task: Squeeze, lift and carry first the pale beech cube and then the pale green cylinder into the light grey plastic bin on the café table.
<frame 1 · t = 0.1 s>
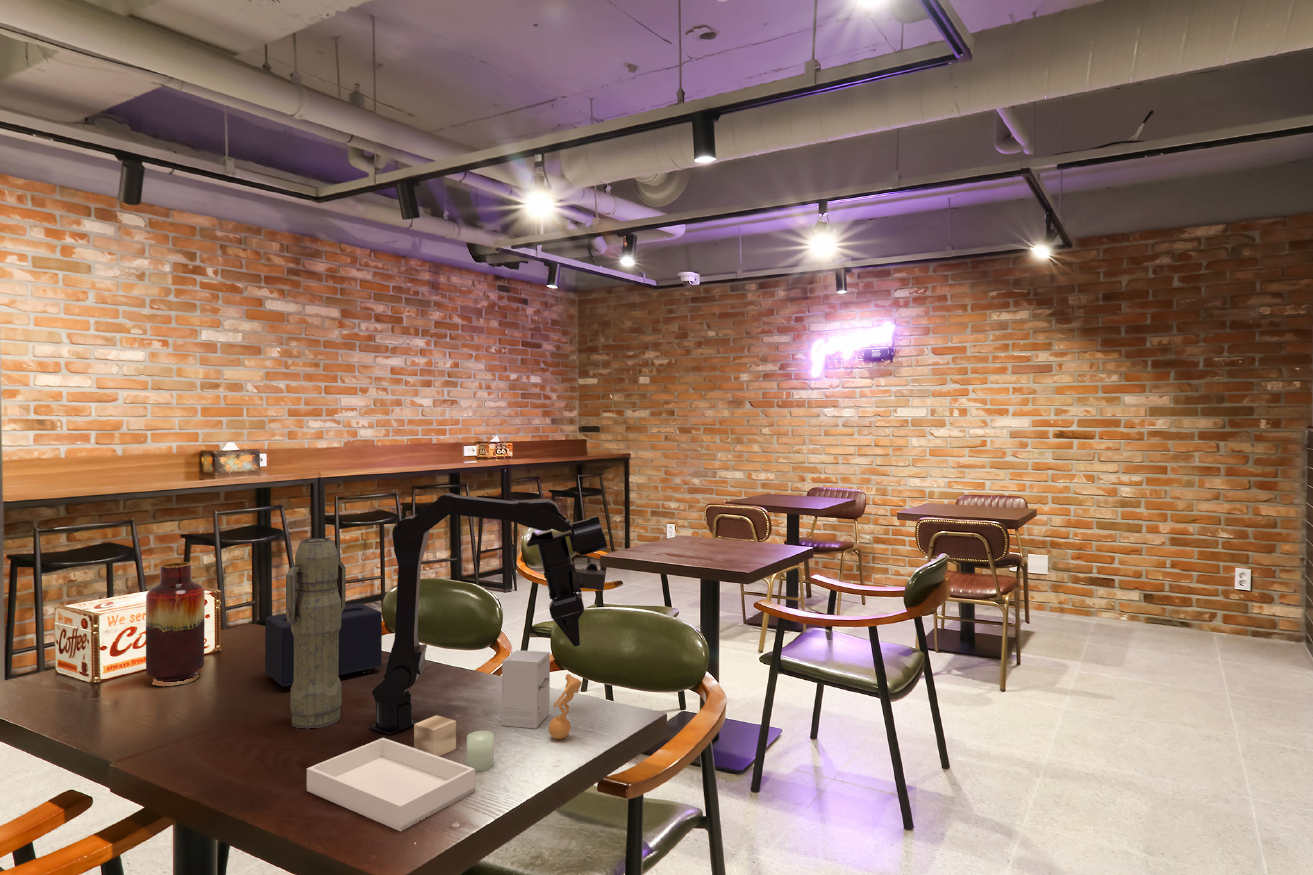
hand: (576, 639, 146), 15 cm above the table, tool pointing down, fingers open, 9 cm apart
figurine: (564, 740, 136), on the table
bin: (390, 791, 116), on the table
vase: (175, 681, 167), on the table
green cylinder: (480, 765, 125), on the table
speaker: (324, 677, 171), on the table
supplement box: (526, 721, 144), on the table
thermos: (316, 721, 144), on the table
beech cube: (435, 750, 131), on the table
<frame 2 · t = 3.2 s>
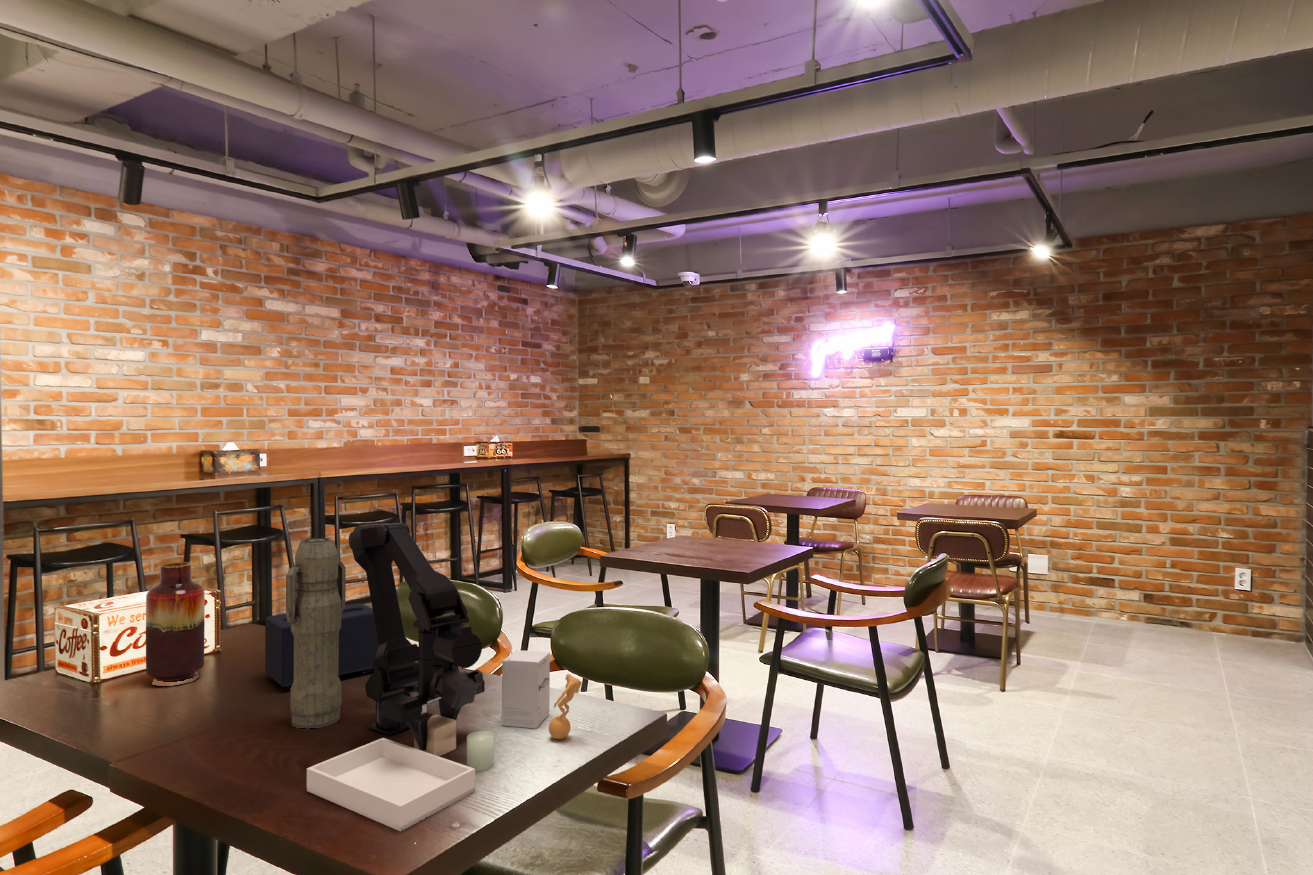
hand: (435, 744, 131), 1 cm above the table, tool pointing down, fingers closed on beech cube, 5 cm apart
beech cube: (435, 750, 131), on the table, touching gripper
everything else where it was.
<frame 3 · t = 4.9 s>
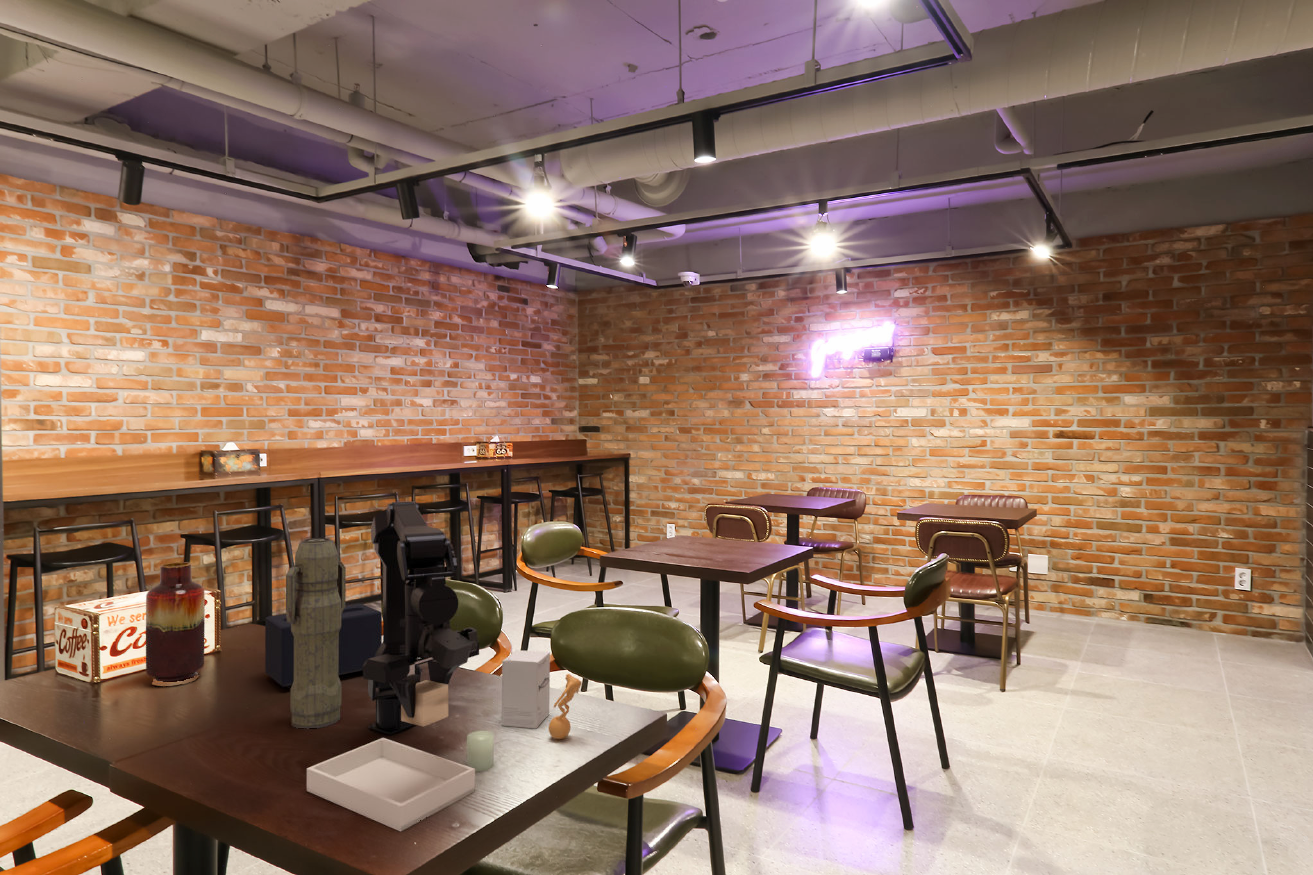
hand: (424, 712, 117), 12 cm above the table, tool pointing down, fingers closed on beech cube, 5 cm apart
beech cube: (424, 718, 117), point 11 cm above the table, touching gripper
everything else where it was.
when the fingers open (3 cm above the table, at t = 7.1 s): beech cube drops 1 cm, resting on bin.
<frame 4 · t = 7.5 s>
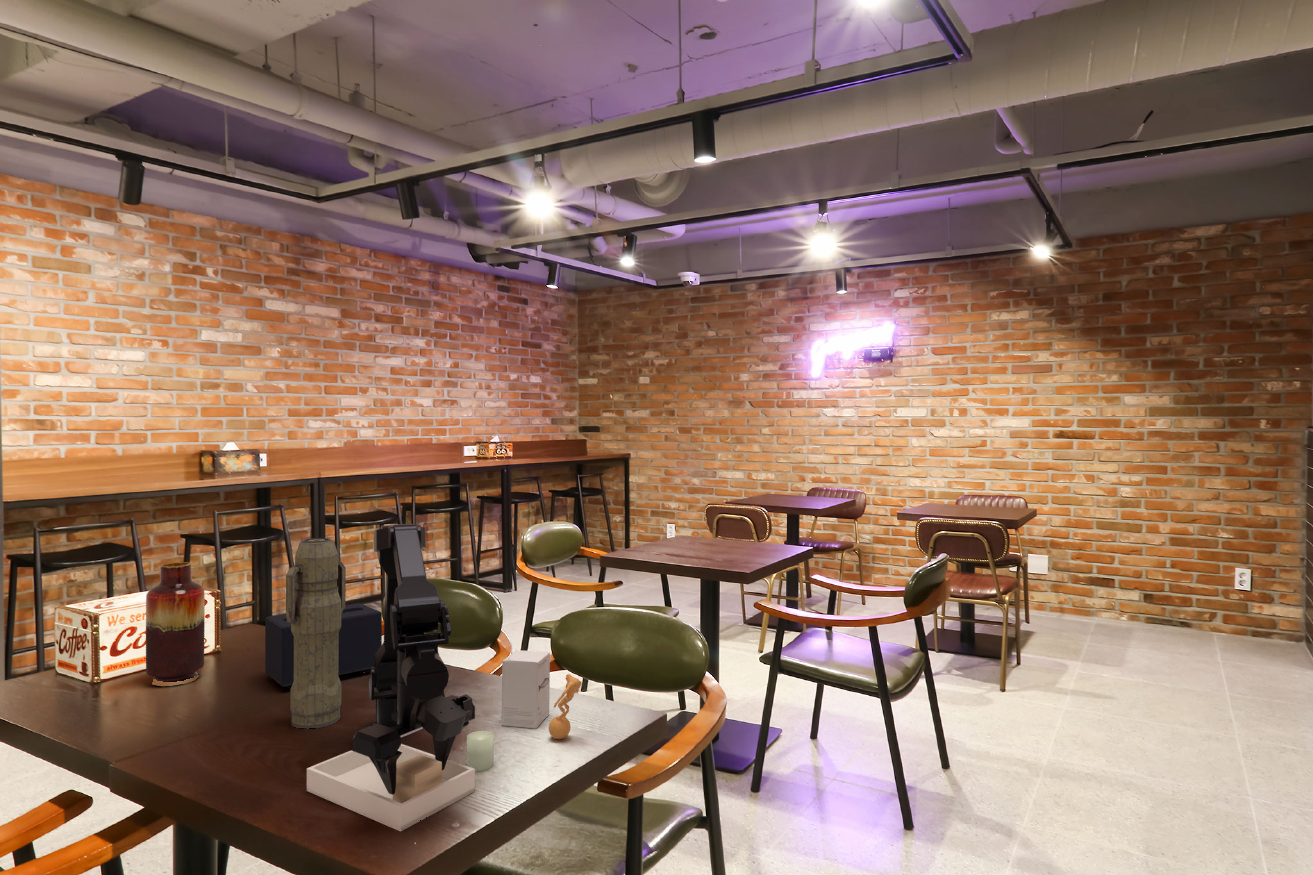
hand: (417, 781, 112), 3 cm above the table, tool pointing down, fingers open, 9 cm apart
beech cube: (417, 797, 112), point 1 cm above the table, touching bin
everything else where it was.
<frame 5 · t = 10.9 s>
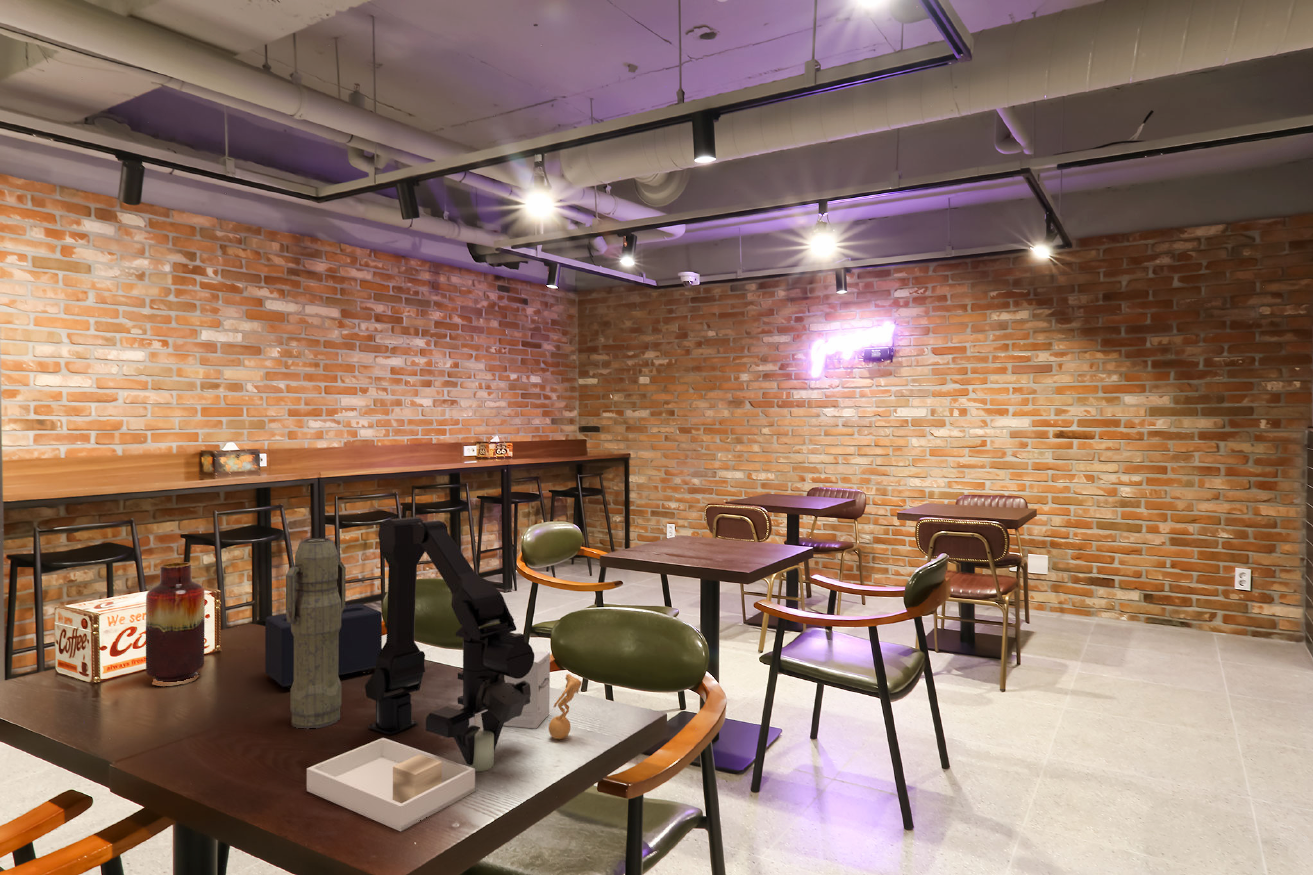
hand: (480, 759, 125), 1 cm above the table, tool pointing down, fingers closed on green cylinder, 4 cm apart
green cylinder: (480, 765, 125), on the table, touching gripper
everything else where it was.
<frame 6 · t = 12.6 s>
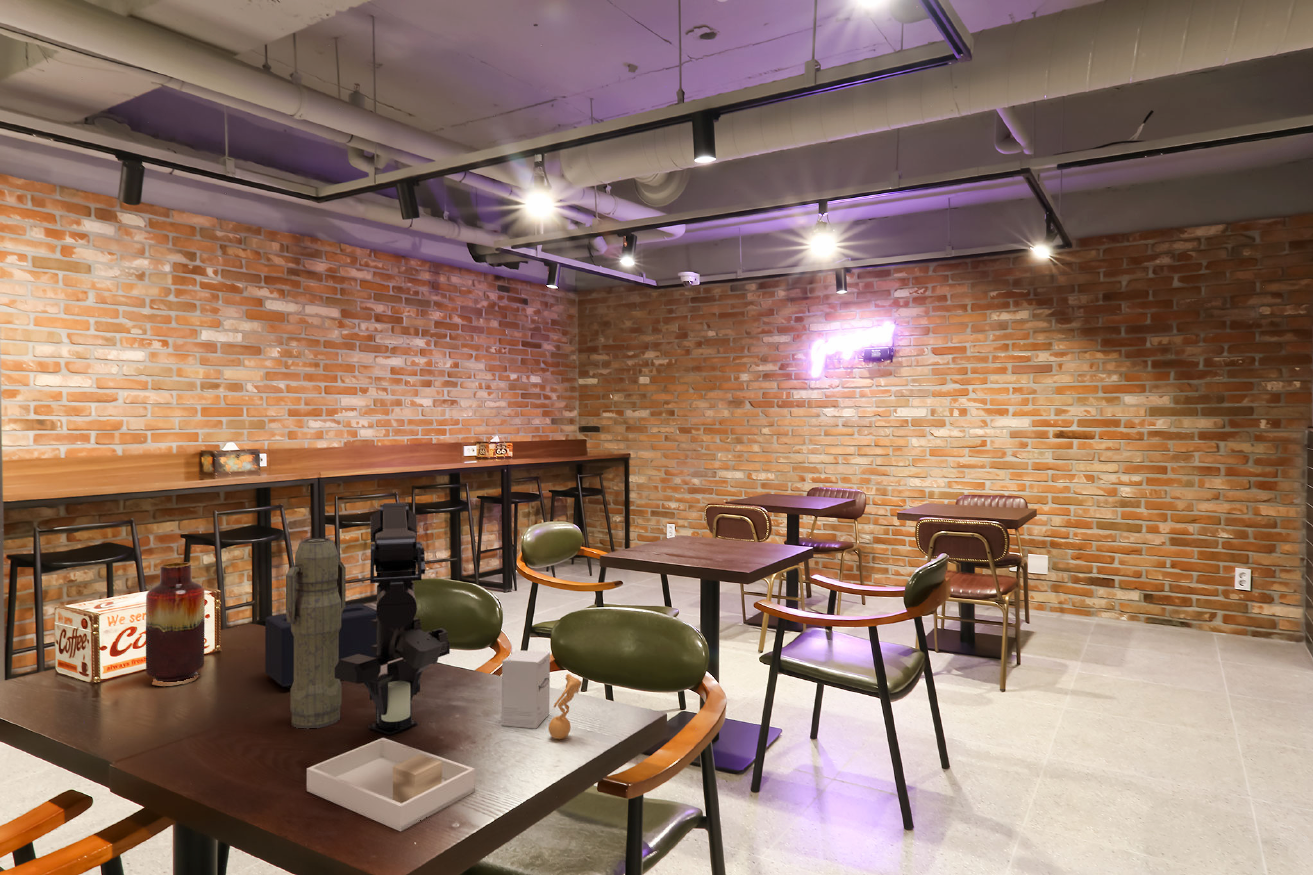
hand: (395, 709, 120), 11 cm above the table, tool pointing down, fingers closed on green cylinder, 4 cm apart
green cylinder: (395, 716, 120), point 10 cm above the table, touching gripper
everything else where it was.
when the fingers open (3 cm above the table, at t = 14.7 s): green cylinder moves 1 cm and tips over, resting on bin.
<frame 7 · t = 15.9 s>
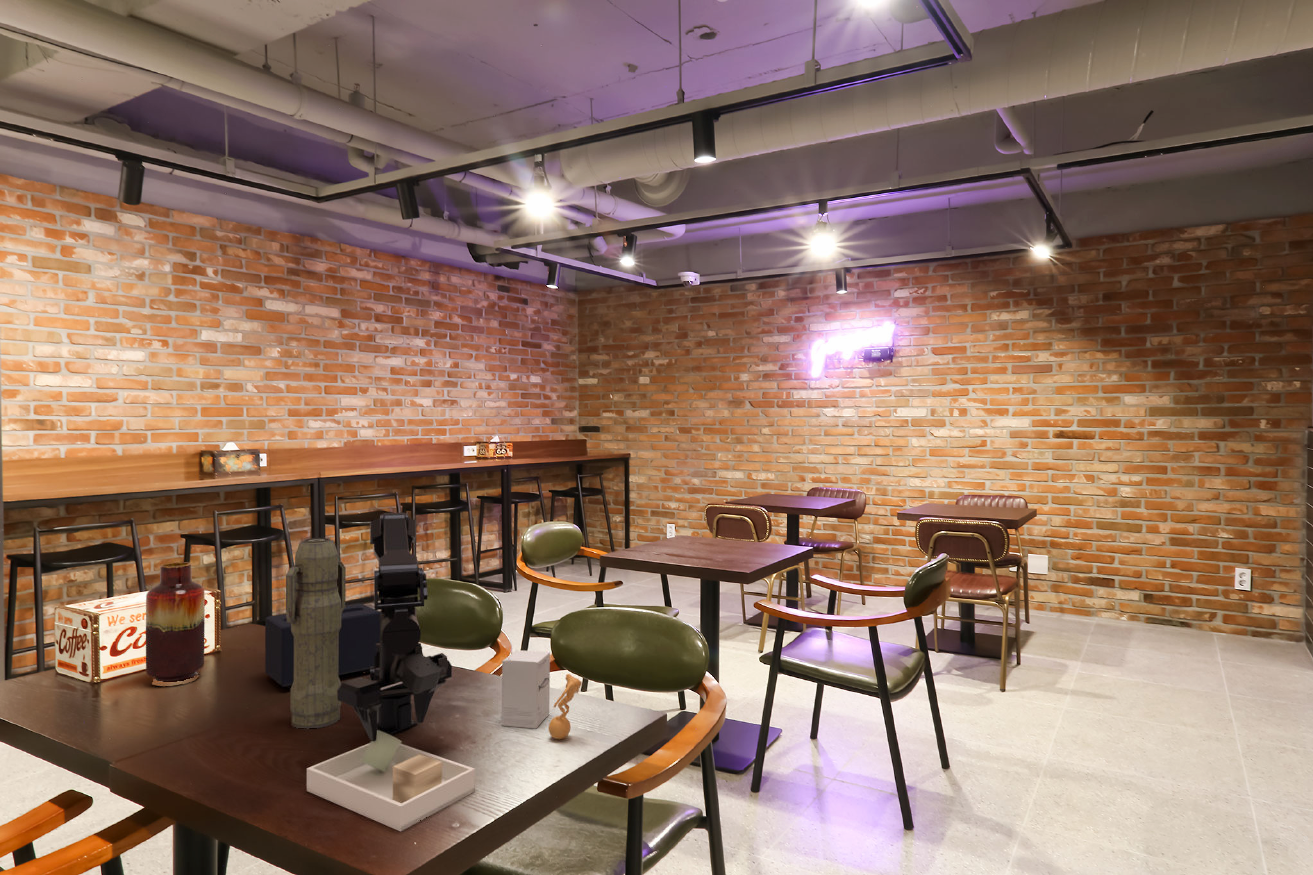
hand: (397, 731, 124), 6 cm above the table, tool pointing down, fingers open, 9 cm apart
green cylinder: (372, 766, 120), point 2 cm above the table, tilted 38°, touching bin
everything else where it was.
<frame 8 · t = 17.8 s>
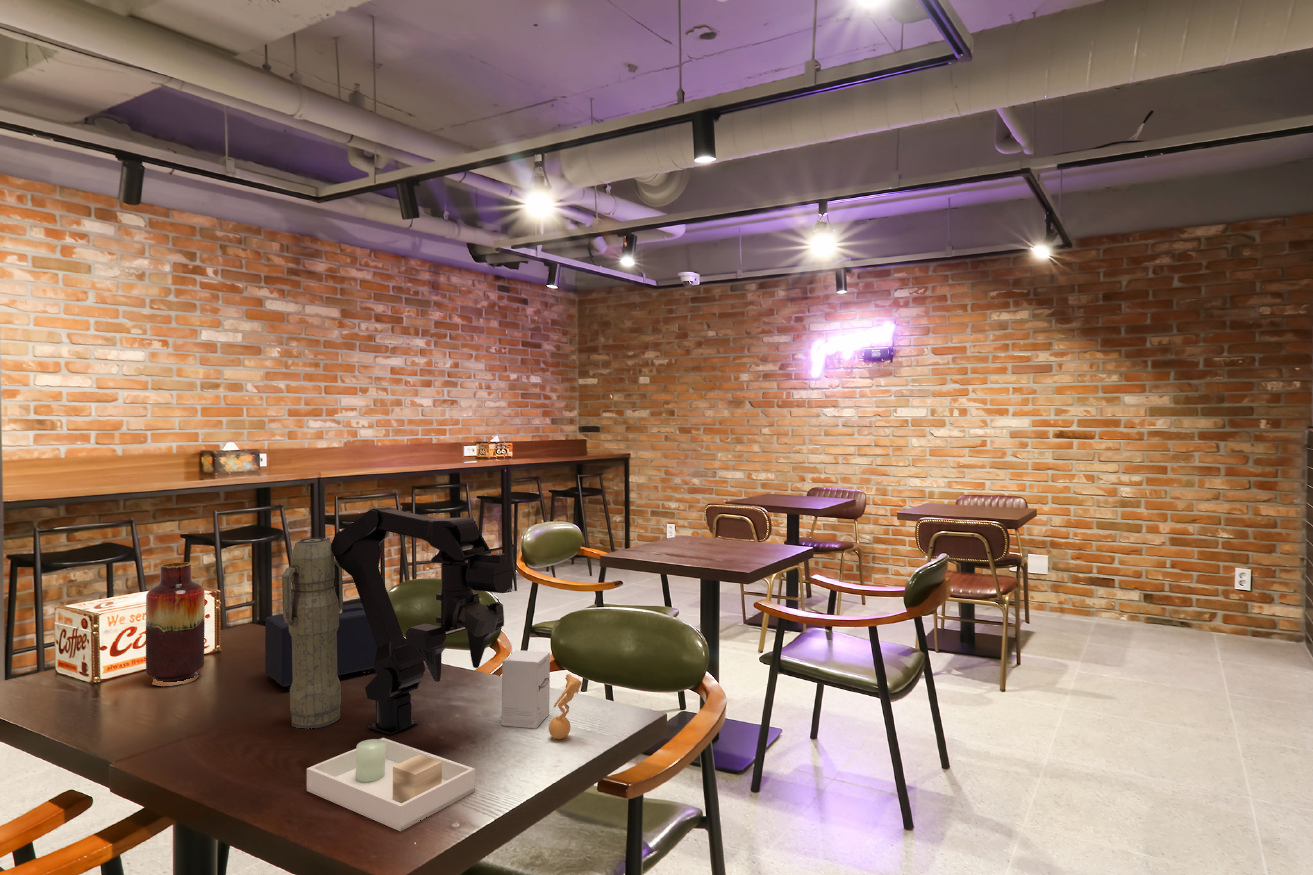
hand: (457, 674, 135), 12 cm above the table, tool pointing down, fingers open, 9 cm apart
green cylinder: (370, 775, 119), point 1 cm above the table, touching bin
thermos: (316, 720, 144), on the table, touching arm
everything else where it was.
at the end: beech cube inside the target area on the bin (6.0 cm from its centre), point 0.6 cm above the bin's base; green cylinder inside the target area on the bin (5.8 cm from its centre), point 0.7 cm above the bin's base; the gripper is holding nothing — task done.
